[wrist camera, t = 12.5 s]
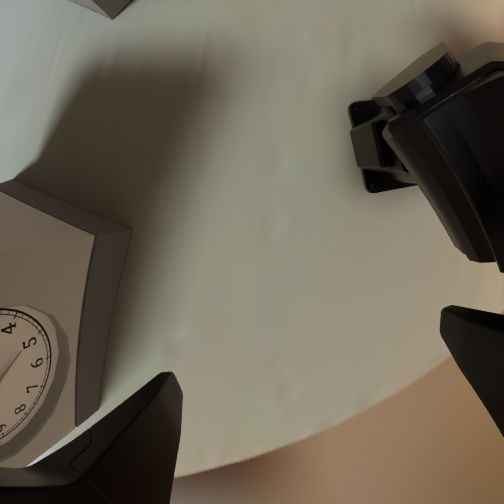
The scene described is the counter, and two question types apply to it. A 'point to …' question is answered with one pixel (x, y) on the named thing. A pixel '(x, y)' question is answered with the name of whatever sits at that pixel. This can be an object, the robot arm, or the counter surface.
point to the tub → (104, 6)
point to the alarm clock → (52, 316)
